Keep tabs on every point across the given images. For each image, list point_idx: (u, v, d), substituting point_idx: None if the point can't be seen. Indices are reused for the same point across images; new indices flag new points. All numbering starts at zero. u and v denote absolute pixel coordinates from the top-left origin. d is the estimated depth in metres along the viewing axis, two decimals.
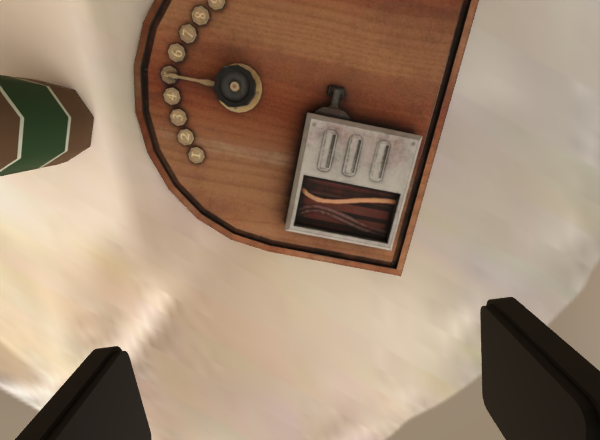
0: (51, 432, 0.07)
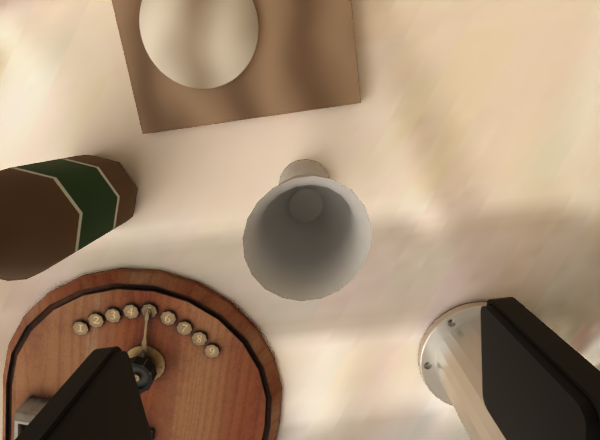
0: (51, 432, 0.07)
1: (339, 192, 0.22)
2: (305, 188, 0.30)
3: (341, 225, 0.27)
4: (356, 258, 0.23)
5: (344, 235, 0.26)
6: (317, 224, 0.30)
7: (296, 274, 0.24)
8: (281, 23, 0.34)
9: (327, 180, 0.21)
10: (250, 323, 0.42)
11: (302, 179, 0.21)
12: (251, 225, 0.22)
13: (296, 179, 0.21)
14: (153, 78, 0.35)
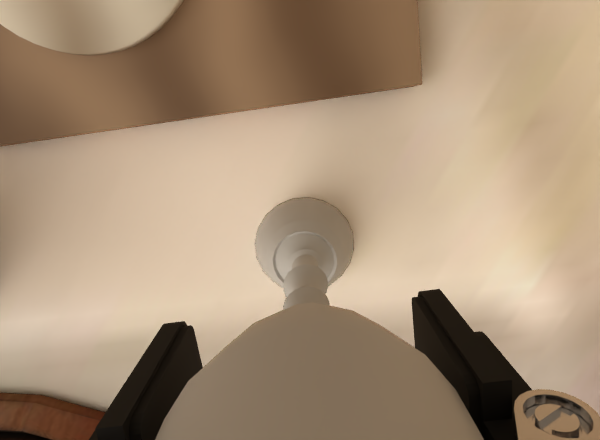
0: (146, 391, 0.08)
1: None
2: None
3: None
4: None
5: None
6: None
7: None
8: None
9: None
10: None
11: None
12: None
13: None
14: None
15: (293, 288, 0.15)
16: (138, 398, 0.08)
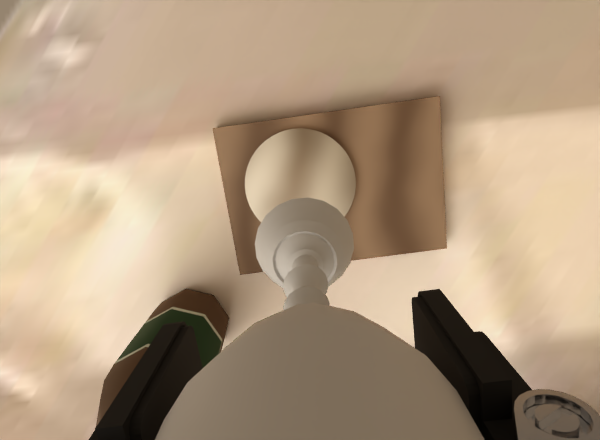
0: (146, 391, 0.08)
1: None
2: None
3: None
4: None
5: None
6: None
7: None
8: (376, 181, 0.36)
9: None
10: None
11: None
12: None
13: None
14: (252, 227, 0.37)
15: (293, 288, 0.15)
16: (138, 398, 0.08)
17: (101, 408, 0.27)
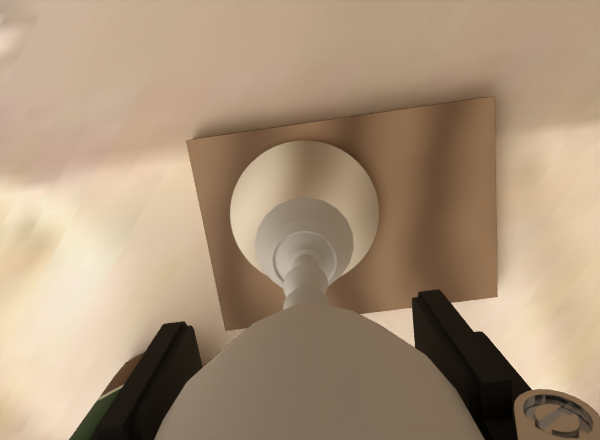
0: (146, 391, 0.08)
1: None
2: None
3: None
4: None
5: None
6: None
7: None
8: (406, 210, 0.27)
9: None
10: None
11: None
12: None
13: None
14: (241, 269, 0.28)
15: (293, 288, 0.15)
16: (138, 398, 0.08)
17: None
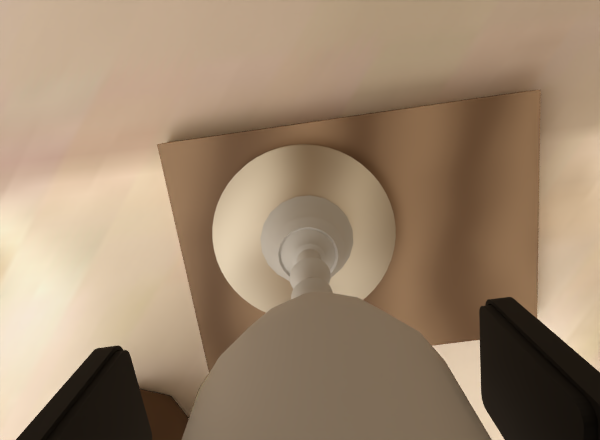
0: (53, 431, 0.07)
1: None
2: None
3: None
4: None
5: None
6: None
7: None
8: (428, 229, 0.22)
9: None
10: None
11: None
12: None
13: None
14: (227, 301, 0.23)
15: (299, 280, 0.16)
16: None
17: None
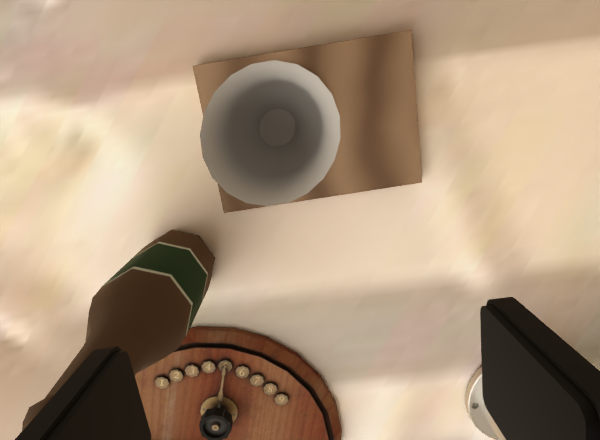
0: (51, 432, 0.07)
1: (305, 84, 0.20)
2: (276, 107, 0.28)
3: (313, 140, 0.25)
4: (326, 158, 0.21)
5: (316, 148, 0.25)
6: (290, 146, 0.28)
7: (263, 184, 0.23)
8: (352, 116, 0.38)
9: (290, 66, 0.19)
10: (314, 372, 0.47)
11: (262, 65, 0.19)
12: (209, 122, 0.20)
13: (256, 65, 0.19)
14: None
15: None
16: None
17: (90, 319, 0.28)
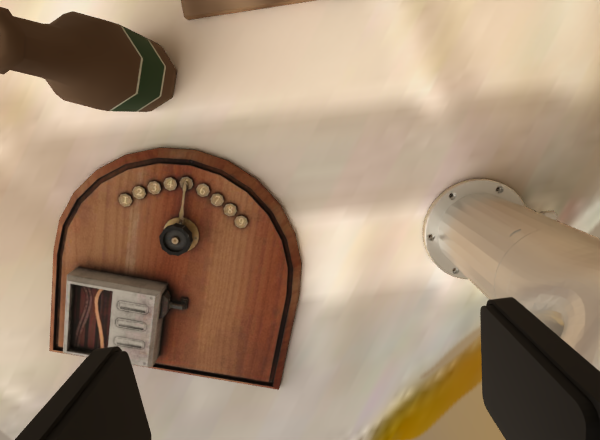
0: (51, 432, 0.07)
1: None
2: None
3: None
4: None
5: None
6: None
7: None
8: None
9: None
10: (274, 199, 0.48)
11: None
12: None
13: None
14: None
15: None
16: None
17: None
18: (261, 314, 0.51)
